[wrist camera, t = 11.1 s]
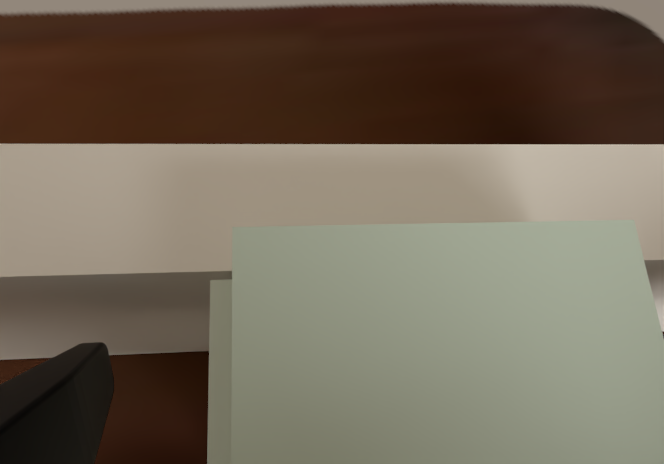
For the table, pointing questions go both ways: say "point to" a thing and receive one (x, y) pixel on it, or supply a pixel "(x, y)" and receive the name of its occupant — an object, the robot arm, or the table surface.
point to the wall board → (260, 220)
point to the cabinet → (436, 346)
